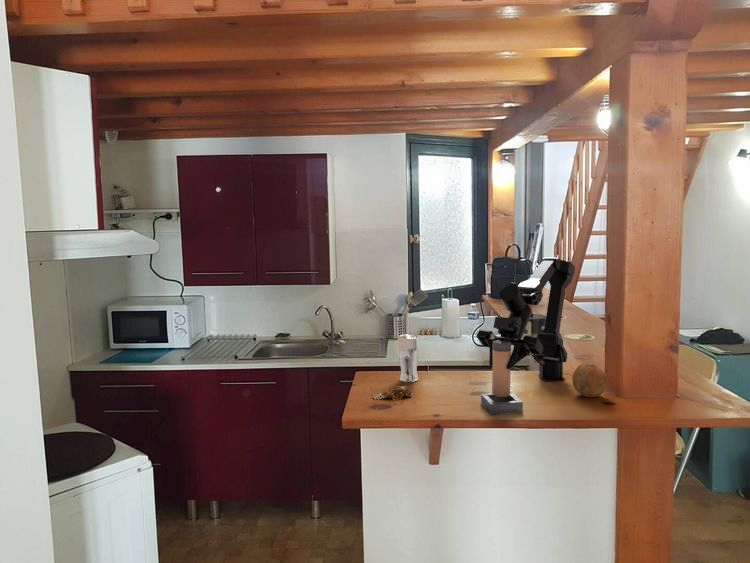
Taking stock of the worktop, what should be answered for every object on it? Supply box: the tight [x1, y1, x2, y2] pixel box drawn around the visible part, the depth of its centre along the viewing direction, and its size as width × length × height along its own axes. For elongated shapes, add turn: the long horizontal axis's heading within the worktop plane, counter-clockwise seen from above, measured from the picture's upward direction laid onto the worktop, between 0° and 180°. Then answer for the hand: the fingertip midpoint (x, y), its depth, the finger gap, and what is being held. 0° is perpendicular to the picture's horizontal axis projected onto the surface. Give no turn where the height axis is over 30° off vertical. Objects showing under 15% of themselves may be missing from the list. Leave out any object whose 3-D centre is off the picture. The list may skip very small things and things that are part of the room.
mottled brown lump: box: [373, 385, 413, 400], centre depth 172 cm, size 7×12×4 cm, turn 107°
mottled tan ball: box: [571, 362, 608, 398], centre depth 165 cm, size 10×10×10 cm
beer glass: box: [397, 333, 420, 383], centre depth 187 cm, size 7×7×15 cm
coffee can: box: [521, 313, 546, 356], centre depth 217 cm, size 10×10×14 cm
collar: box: [480, 391, 524, 416], centre depth 159 cm, size 9×9×3 cm
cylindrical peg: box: [491, 340, 512, 397], centre depth 157 cm, size 5×5×15 cm
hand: (499, 367), depth 156 cm, fingers closed on cylindrical peg, 5 cm apart
